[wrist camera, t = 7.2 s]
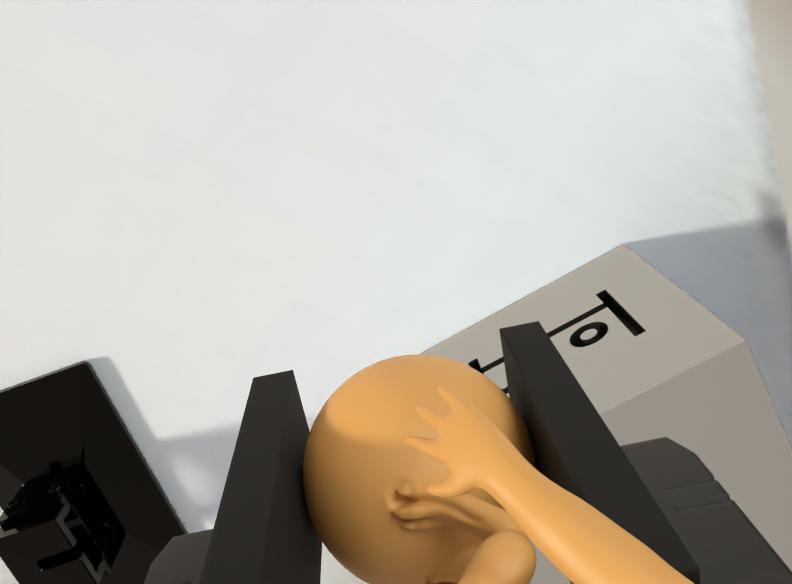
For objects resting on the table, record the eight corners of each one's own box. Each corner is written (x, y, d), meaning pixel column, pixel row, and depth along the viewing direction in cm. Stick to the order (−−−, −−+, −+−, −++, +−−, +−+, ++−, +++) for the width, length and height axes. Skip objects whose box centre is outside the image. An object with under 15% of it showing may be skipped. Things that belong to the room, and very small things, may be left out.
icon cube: (623, 243, 31) (746, 339, 21) (704, 417, 34) (840, 566, 25) (420, 353, 32) (451, 490, 22) (517, 511, 35) (580, 687, 26)
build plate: (210, 569, 35) (191, 646, 31) (75, 613, 36) (38, 696, 31) (88, 358, 31) (46, 414, 26) (-65, 412, 31) (-130, 476, 27)
